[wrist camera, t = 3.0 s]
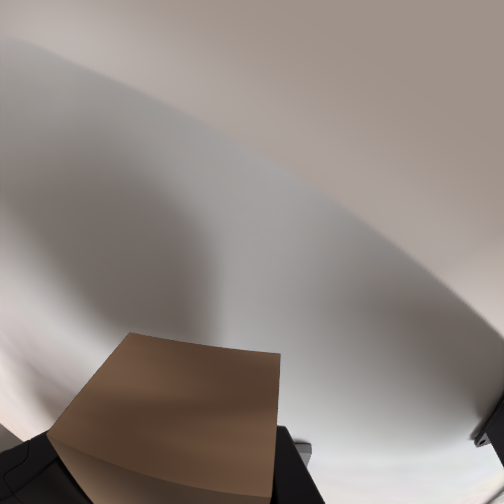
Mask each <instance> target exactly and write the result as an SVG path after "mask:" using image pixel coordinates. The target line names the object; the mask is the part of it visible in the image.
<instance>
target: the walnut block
mask: <svg viewBox="0 0 504 504" xmlns="http://www.w3.org/2000/svg"><path fill="white" fill-rule="evenodd" d="M280 356H281V354H279V353H267V352H257V351H247V350H238V349H229V348H221V347H214V346H206V345H199V344H192V343H186V342H180V341H173V340H168V339H162V338H156V337H151V336H145V335H140V334H135V333H129V334H128V335H127V336H126V337H125V339H124V340H123V341H122V342H121V343H120V344H119V346H118V347H117V348H116V349H115V350H114V351H113V353H112V354H111V355H110V356H109V357H108V358H107V360H106V361H105V362H104V363H103V364H102V366H101V367H100V368H99V369H98V370H97V372H96V373H95V374H94V375H93V376H92V378H91V379H90V380H89V381H88V382H87V384H86V385H85V386H84V387H83V389H82V390H81V391H80V392H79V393H78V395H77V396H76V397H75V398H74V400H73V401H72V402H71V403H70V405H69V406H68V407H67V408H66V410H65V411H64V412H63V413H62V415H61V416H60V417H59V418H58V420H57V421H56V422H55V423H54V425H53V426H52V427H51V428H50V430H49V431H48V432H47V434H46V435H47V437H48V439H49V440H50V442H51V444H52V445H53V447H54V449H55V450H56V452H57V453H58V455H59V457H60V458H61V460H62V461H63V463H64V464H65V466H66V467H67V469H68V470H69V471H70V473H71V474H72V476H73V477H74V479H75V480H76V481H77V483H78V484H79V485H80V487H81V488H82V489H83V491H84V492H85V493H86V494H87V496H88V497H89V498H90V499H91V501H92V502H93V503H94V504H270V500H271V495H272V483H273V471H274V458H275V444H276V430H277V414H278V396H279V377H280Z"/></svg>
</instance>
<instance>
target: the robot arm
mask: <svg viewBox="0 0 504 504" xmlns="http://www.w3.org/2000/svg"><path fill="white" fill-rule="evenodd" d="M49 430H50V429H49ZM49 430H47V431H45V432H43V433H41V434H39V435H37V436H35V437H33V438H31V439H30V440H27V441H25V442H23V443H21V444H19V445H17V446H14V447H12V448H10V449H7V450H5V451H2V452H0V504H94V503H93V502H92V501H91V499H90V498H89V497H88V496H87V494H86V493H85V492H84V491H83V489H82V488H81V487H80V485H79V484H78V483H77V481H76V480H75V479H74V477H73V476H72V474H71V473H70V471H69V470H68V469H67V467H66V466H65V464H64V463H63V461H62V460H61V458H60V457H59V455H58V453H57V452H56V450H55V449H54V447H53V445H52V444H51V442H50V440H49V439H48V437H47V435H46V434H47V432H48V431H49ZM490 443H491V444H492V446H493V448H494V450H495V452H496V454H497V455H498V457H499V459H500V461H501V463H502V465H503V467H504V396H503V397H502V399H501V401H500V402H499V404H498V406H497V407H496V409H495V411H494V412H493V414H492V415H491V417H490V419H489V420H488V422H487V423H486V425H485V426H484V428H483V429H482V431H481V432H480V433H479V435H478V436H477V438H476V439H475V441H474V444H475V446H476V447H481V446H484V445H487V444H490ZM270 504H325V502H324V500H323V498H322V496H321V494H320V493H319V491H318V489H317V487H316V485H315V483H314V481H313V479H312V477H311V475H310V473H309V471H308V470H307V468H306V466H305V464H304V462H303V460H302V458H301V456H300V454H299V452H298V450H297V448H296V446H295V444H294V442H293V440H292V438H291V436H290V434H289V432H288V430H287V428H286V427H285V426H279V425H277V430H276V444H275V458H274V471H273V483H272V495H271V500H270Z"/></svg>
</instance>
